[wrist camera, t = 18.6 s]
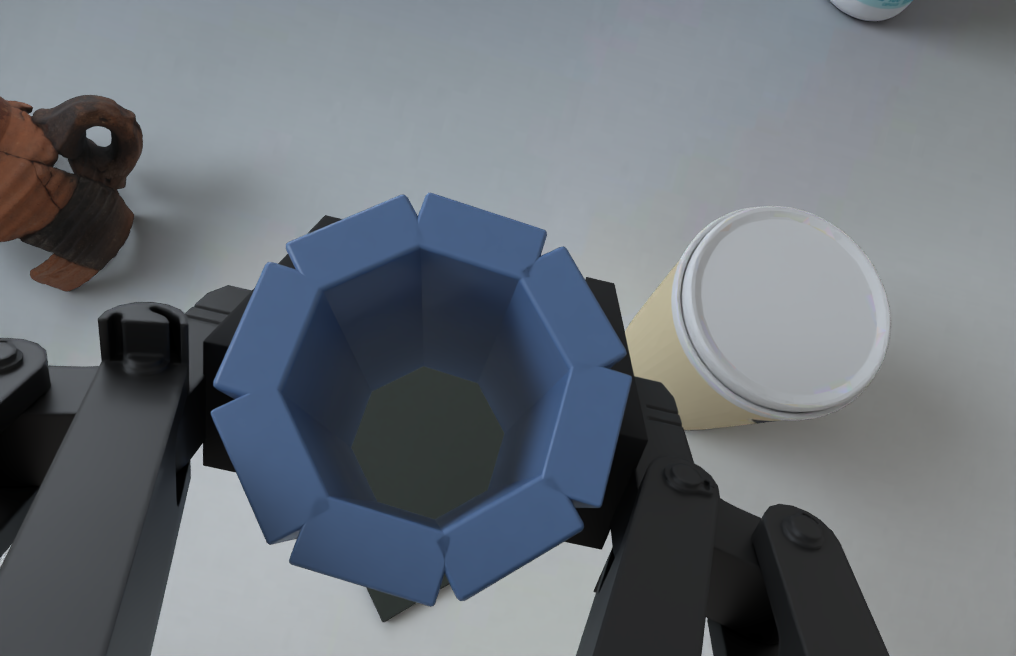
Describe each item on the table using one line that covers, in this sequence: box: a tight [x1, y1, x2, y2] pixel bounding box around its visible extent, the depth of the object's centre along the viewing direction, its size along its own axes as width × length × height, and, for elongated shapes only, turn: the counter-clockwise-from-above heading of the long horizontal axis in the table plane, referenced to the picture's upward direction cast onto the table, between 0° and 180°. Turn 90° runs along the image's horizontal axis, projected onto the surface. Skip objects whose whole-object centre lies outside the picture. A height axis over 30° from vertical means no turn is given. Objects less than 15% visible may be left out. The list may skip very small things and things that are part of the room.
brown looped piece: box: [0, 95, 143, 291], centre depth 33 cm, size 12×10×8 cm
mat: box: [351, 366, 504, 622], centre depth 34 cm, size 12×12×1 cm
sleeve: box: [211, 193, 632, 607], centre depth 14 cm, size 6×6×9 cm
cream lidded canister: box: [625, 206, 891, 430], centre depth 32 cm, size 9×9×12 cm
